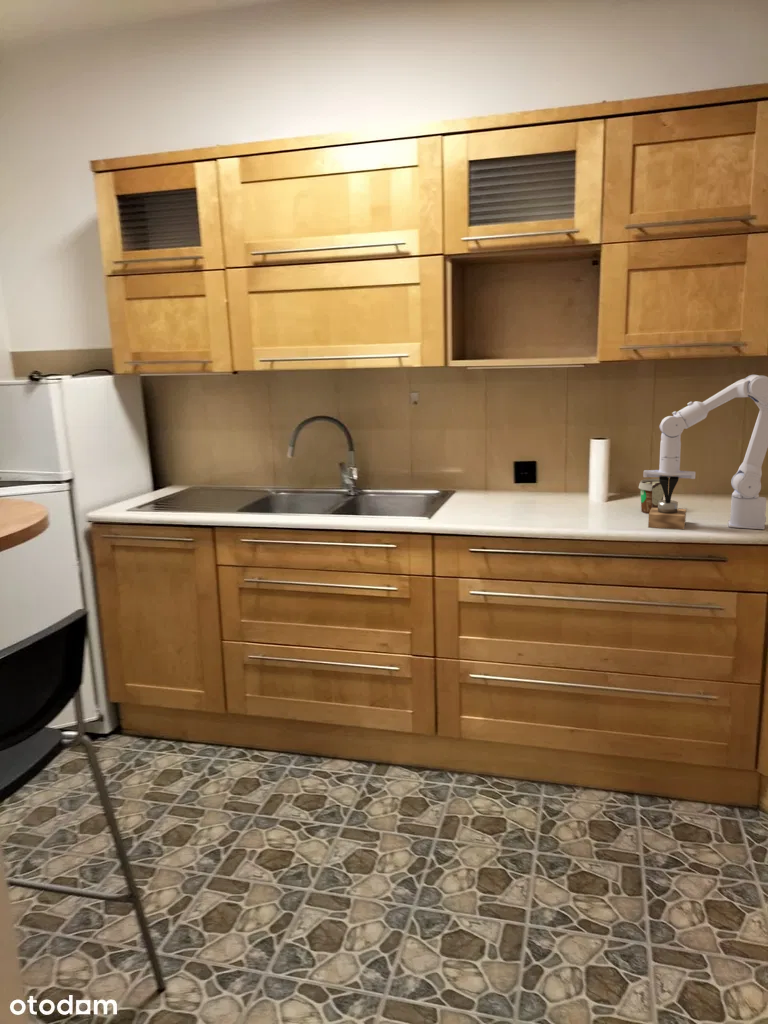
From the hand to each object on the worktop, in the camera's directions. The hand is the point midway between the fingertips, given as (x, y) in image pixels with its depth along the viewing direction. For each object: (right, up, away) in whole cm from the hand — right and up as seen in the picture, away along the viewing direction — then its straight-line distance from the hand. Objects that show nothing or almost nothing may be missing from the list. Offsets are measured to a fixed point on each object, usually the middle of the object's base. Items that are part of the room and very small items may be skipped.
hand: (667, 501), depth 224 cm
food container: (+2, -3, +21) cm, 22 cm away
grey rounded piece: (0, -7, +2) cm, 7 cm away
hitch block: (0, -7, +1) cm, 7 cm away
